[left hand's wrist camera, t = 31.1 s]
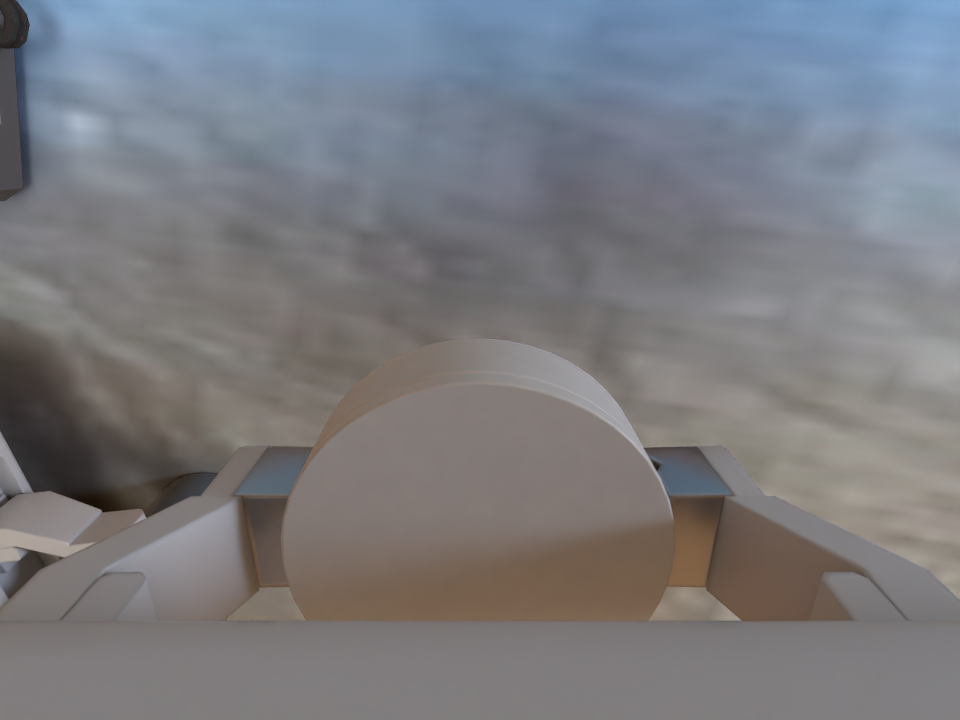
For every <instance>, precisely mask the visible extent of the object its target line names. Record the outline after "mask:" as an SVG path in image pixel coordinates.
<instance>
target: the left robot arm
mask: <svg viewBox="0 0 960 720" xmlns="http://www.w3.org/2000/svg"><path fill="white" fill-rule="evenodd" d="M312 449H313V447H286V446H272V447H270V446H244V447H240V448H239V449H238V450H237V451H236V452H235V453H234V455H233V456H232V457H231V458H230V460H229V461H228V462H227V463H226V465H225V466H224V467H223V468H222V470H221V471H220V472H219V473H218V475H217V476H216V477H215V478H214V480H213V481H212V482H211V483H210V485H209V486H208V487H207V488H206V490H205V491H204V492H203V493H202V494H201V496H191V497H189V498H187V499H185V500H183V501H180V502H178V503H176V504H174V505H172V506H170V507H168V508H166V509H164V510H162V511H160V512H158V513H156V514H154V515H152V516H150V517H148V518H145V519H143V520H141V521H139V522H137V523H135V524H133V525H131V526H129V527H127V528H125V529H123V530H121V531H119V532H117V533H115V534H113V535H110V536H108V537H106V538H104V539H102V540H100V541H98V542H96V543H94V544H92V545H90V546H88V547H86V548H84V549H82V550H80V551H78V552H75V553H73V554H71V555H69V556H67V557H65V558H63V559H61V560H59V561H57V562H55V563H53V564H51V565H49V566H47V567H45V568H43V569H40V570H39V571H38V572H37V573H36V574H35V575H34V576H33V577H32V578H31V579H30V580H29V581H28V582H27V583H26V584H25V585H24V586H23V587H21V588H20V589H19V590H18V591H17V592H16V593H15V594H14V595H13V596H12V597H11V598H10V599H9V600H8V601H7V602H6V603H5V604H4V605H3V606H2V607H1V608H0V720H960V600H959V599H958V598H957V597H956V596H955V595H954V594H953V593H952V592H951V591H950V590H949V589H948V588H947V587H946V586H944V585H943V584H942V583H941V582H940V581H939V580H938V579H937V578H936V577H935V576H934V575H933V574H932V573H931V572H930V571H929V570H927V569H924V568H922V567H920V566H918V565H916V564H914V563H912V562H910V561H908V560H906V559H904V558H902V557H900V556H898V555H895V554H893V553H891V552H889V551H887V550H885V549H883V548H881V547H879V546H877V545H875V544H873V543H871V542H869V541H866V540H864V539H862V538H860V537H858V536H856V535H854V534H852V533H850V532H848V531H846V530H844V529H842V528H840V527H837V526H835V525H833V524H831V523H829V522H827V521H825V520H823V519H821V518H819V517H817V516H815V515H813V514H811V513H808V512H806V511H804V510H802V509H800V508H798V507H796V506H794V505H792V504H790V503H788V502H786V501H784V500H781V499H779V498H777V497H775V496H765V495H764V493H763V492H762V491H761V490H760V488H759V487H758V486H757V485H756V484H755V482H754V481H753V480H752V479H751V478H750V476H749V475H748V474H747V473H746V472H745V470H744V469H743V468H742V467H741V465H740V464H739V463H738V462H737V461H736V459H735V458H734V457H733V456H732V455H731V453H730V452H729V451H728V450H727V448H725V447H723V446H698V447H697V446H694V447H653V448H644V450H645V452H646V453H647V455H648V457H649V459H650V460H651V462H652V464H653V466H654V468H655V469H656V471H657V473H658V475H659V477H660V478H661V480H662V483H663V485H664V488H665V490H666V493H667V495H668V498H669V500H670V504H671V509H672V513H673V518H674V524H675V552H674V561H673V567H672V571H671V574H670V578H669V582H668V585H667V586H671V587H707V589H706V590H707V591H708V592H710V593H711V594H712V595H713V596H714V597H715V598H717V599H718V600H719V601H720V602H721V603H722V604H723V605H725V606H726V607H727V608H728V609H729V610H730V611H732V612H733V613H734V614H735V615H736V616H737V617H739V618H740V619H741V620H742V621H224V620H225V619H226V618H228V617H229V616H230V615H231V614H232V613H233V612H234V611H236V610H237V609H238V608H239V607H240V606H241V605H242V604H244V603H245V602H246V601H247V600H248V599H249V598H251V597H252V596H253V595H254V594H255V593H256V592H257V591H259V587H289V585H288V582H287V579H286V575H285V570H284V566H283V561H282V549H281V531H282V522H283V515H284V511H285V508H286V504H287V501H288V497H289V494H290V492H291V490H292V488H293V486H294V483H295V481H296V479H297V477H298V475H299V473H300V471H301V469H302V467H303V466H304V464H305V462H306V460H307V458H308V456H309V455H310V453H311V451H312Z"/></svg>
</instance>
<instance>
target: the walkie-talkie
mask: <svg viewBox="0 0 960 720" xmlns="http://www.w3.org/2000/svg"><path fill="white" fill-rule="evenodd" d="M0 10H1V12H2V14H1V13H0V201H5V200H7V199H8V198H10V197H11V196H12V195H14V194H15V193H17V192H18V191H20V190H21V189H22V188H23V177H22V162H21V147H20V132H19V116H18V101H17V86H16V70H15V55H14V48H19V47H20V46H21V45H23V44H24V43H25V42H26V40H27V35H28V30H29V21H28V17H27V14H26V13H25V11H24V10H23V9H22V7H21V6H20V5H19V3H18V2H17V1H16V0H0Z"/></svg>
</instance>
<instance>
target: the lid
mask: <svg viewBox="0 0 960 720" xmlns="http://www.w3.org/2000/svg"><path fill="white" fill-rule="evenodd" d="M281 549H282V561H283V566H284V570H285V575H286V579H287V582H288V585H289V587H290V590H291V592H292V595H293V597H294V600H295V602H296V603H297V605H298V607H299V608H300V610H301V612H302V614H303V615H304V617H305V619H306V620H307V621H649V619H650V617H651V616H652V614H653V613H654V611H655V609H656V608H657V606H658V605H659V603H660V601H661V599H662V596H663V594H664V592H665V589H666V587H667V585H668V582H669V578H670V574H671V571H672V567H673V561H674V552H675V524H674V518H673V513H672V509H671V504H670V500H669V498H668V495H667V493H666V490H665V488H664V485H663V483H662V480H661V478H660V477H659V475H658V473H657V471H656V469H655V468H654V466H653V464H652V462H651V460H650V459H649V457H648V455H647V453H646V452H645V450H644V448H643V446H642V444H641V443H640V441H639V439H638V437H637V435H636V434H635V432H634V430H633V428H632V427H631V425H630V423H629V421H628V420H627V418H626V416H625V415H624V413H623V411H622V410H621V408H620V406H619V405H618V404H617V403H616V401H615V400H614V399H613V398H612V397H611V395H610V394H609V393H608V392H607V391H606V389H605V388H603V387H602V386H601V385H600V384H599V383H598V382H597V381H596V380H595V379H593V378H592V377H591V376H590V375H589V374H587V373H586V372H584V371H583V370H581V369H580V368H578V367H577V366H575V365H574V364H573V363H571V362H569V361H567V360H565V359H563V358H561V357H559V356H557V355H555V354H553V353H551V352H548V351H545V350H542V349H539V348H536V347H533V346H530V345H526V344H522V343H517V342H512V341H507V340H497V339H484V338H478V339H457V340H451V341H445V342H440V343H434V344H431V345H427V346H424V347H421V348H417V349H414V350H411V351H409V352H407V353H405V354H402V355H400V356H398V357H396V358H393V359H391V360H389V361H388V362H386V363H385V364H383V365H381V366H380V367H378V368H377V369H375V370H373V371H372V372H370V373H369V374H368V375H367V376H366V377H364V378H363V379H362V380H361V381H360V382H358V383H357V384H356V385H355V386H354V387H353V388H352V389H351V390H350V391H349V392H348V394H347V395H346V396H345V397H344V398H343V399H342V400H341V401H340V403H339V404H338V406H337V407H336V409H335V410H334V412H333V413H332V415H331V416H330V418H329V420H328V421H327V423H326V425H325V427H324V429H323V431H322V433H321V434H320V436H319V438H318V440H317V442H316V444H315V445H314V447H313V449H312V451H311V453H310V455H309V456H308V458H307V460H306V462H305V464H304V466H303V467H302V469H301V471H300V473H299V475H298V477H297V479H296V481H295V483H294V486H293V488H292V490H291V492H290V494H289V497H288V501H287V504H286V508H285V511H284V515H283V522H282V531H281Z"/></svg>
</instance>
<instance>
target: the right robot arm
mask: <svg viewBox="0 0 960 720" xmlns="http://www.w3.org/2000/svg"><path fill="white" fill-rule="evenodd" d="M145 518H146V516H145V514H144V512H143V510H142V509H132V510H122V511H112V512H103V513H102V511H101V510H100V509H98V508H95V507H92V506H90V505H87V504H84V503H82V502H79V501H76V500H73V499H71V498H68V497H65V496H63V495H60V494H57V493H55V492H52V491H44V492H35V493H34V492H33V491H32V489H31V487H30V485H29V483H28V481H27V479H26V478H25V476H24V474H23V472H22V470H21V468H20V467H19V465H18V463H17V461H16V459H15V457H14V455H13V454H12V452H11V450H10V448H9V446H8V444H7V443H6V441H5V439H4V437H3V435H2V433H1V431H0V608H1V607H2V606H3V605H4V604H5V603H6V602H7V601H8V600H9V599H10V598H11V597H12V596H13V595H14V594H15V593H16V592H17V591H18V590H19V589H20V588H21V587H23V586H24V585H25V584H26V583H27V582H28V581H29V580H30V579H31V578H32V577H33V576H34V575H35V574H36V573H37V572H38V571H39V570H40V569H43V568H45V567H47V566H49V565H51V564H53V563H55V562H57V561H59V560H61V559H63V558H65V557H67V556H69V555H71V554H73V553H75V552H78V551H80V550H82V549H84V548H86V547H88V546H90V545H92V544H94V543H96V542H98V541H100V540H102V539H104V538H106V537H108V536H110V535H113V534H115V533H117V532H119V531H121V530H123V529H125V528H127V527H129V526H131V525H133V524H135V523H137V522H139V521H141V520H143V519H145Z"/></svg>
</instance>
